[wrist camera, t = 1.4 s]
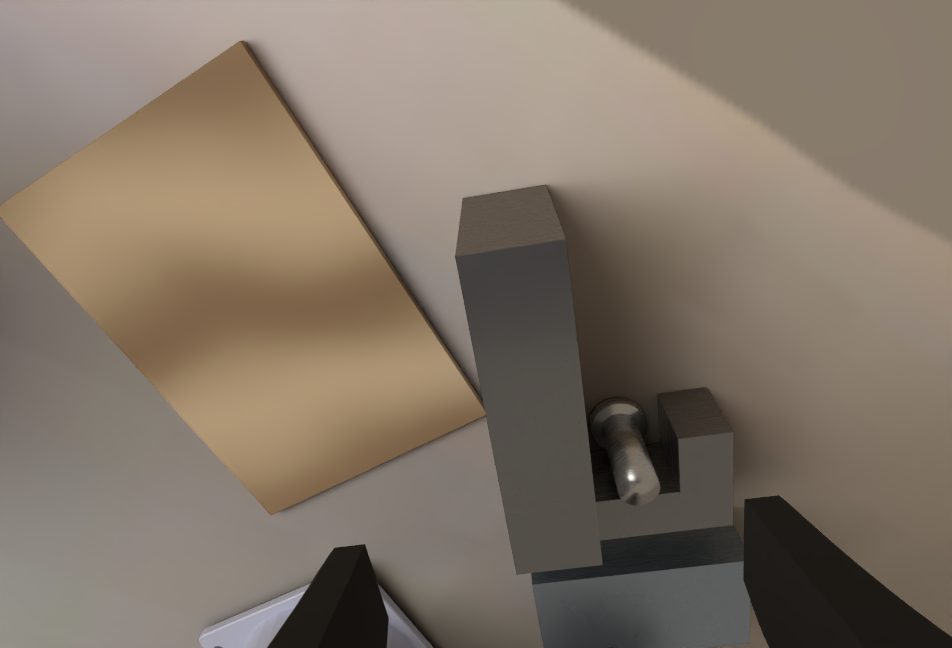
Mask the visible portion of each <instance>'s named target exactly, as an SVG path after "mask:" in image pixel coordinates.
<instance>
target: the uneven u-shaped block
mask: <svg viewBox="0 0 952 648" xmlns="http://www.w3.org/2000/svg"><path fill="white" fill-rule="evenodd" d="M455 258H456V263H457V268H458V273H459V279H460V284H461V289H462V294H463V299H464V305H465V310H466V315H467V320H468V325H469V330H470V336H471V341H472V346H473V351H474V356H475V362H476V367H477V372H478V377H479V382H480V387H481V393H482V398H483V403H484V408H485V413H486V419H487V424H488V429H489V434H490V439H491V444H492V450H493V455H494V460H495V465H496V470H497V476H498V481H499V486H500V491H501V496H502V501H503V507H504V512H505V517H506V522H507V527H508V532H509V538H510V543H511V548H512V553H513V558H514V564H515V569H516V574H517V575H518V574H526V573H535V572H544V571H553V570H562V569H571V568H580V567H589V566H598V565H603V563H602V554H601V545H600V540H608V539H617V538H626V537H634V536H643V535H652V534H660V533H669V532H678V531H686V530H695V529H703V528H712V527H721V526H729V525H733V453H734V432H733V430H732V428H731V427H730V425H729V424H728V422H727V420H726V419H725V417H724V415H723V414H722V412H721V410H720V409H719V407H718V405H717V404H716V402H715V400H714V399H713V397H712V395H711V394H710V392H709V390H708V389H707V388H699V389H692V390H684V391H677V392H669V393H662V394H658V412H659V430H660V443H658V444H650V445H645V446H646V449H647V451H648V454H649V457H650V459H651V462H652V465H653V467H654V470H655V473H656V475H657V478H658V481H659V483H660V491H659V494H658V496H657V497H656V498H655V499H654V500H653V501H651V502H649V503H647V504H644V505H630V504H627V503H626V502H624V501H623V500H622V499H621V498H620V496H619V494H618V490H617V487H616V483H615V479H614V476H613V472H612V469H611V465H610V462H609V458H608V455H607V451H606V450H603V451H595V452H590V447H589V439H588V430H587V421H586V412H585V403H584V394H583V385H582V376H581V368H580V359H579V350H578V341H577V332H576V323H575V314H574V305H573V297H572V288H571V279H570V270H569V261H568V252H567V243H566V238H565V235H564V232H563V230H562V227H561V224H560V221H559V219H558V216H557V213H556V211H555V208H554V205H553V202H552V200H551V197H550V194H549V192H548V189H547V186H546V185H541V186H534V187H528V188H522V189H516V190H510V191H504V192H498V193H492V194H486V195H480V196H473V197H467V198H463V201H462V208H461V216H460V224H459V231H458V239H457V247H456V254H455Z"/></svg>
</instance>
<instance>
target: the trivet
mask: <svg viewBox="0 0 952 648" xmlns="http://www.w3.org/2000/svg"><path fill="white" fill-rule="evenodd" d="M0 217H1V218H2V219H3V221H4V222H5V223H6V224H7V225H8V226H9V227H10V228H11V229H12V231H13V232H14V233H15V234H16V235H17V236H18V237H19V238H20V239H21V240H22V242H23V243H24V244H25V245H26V246H27V247H28V248H29V249H30V250H31V251H32V253H33V254H34V255H35V256H36V257H37V258H38V259H39V260H40V261H41V262H42V264H43V265H44V266H45V267H46V268H47V269H48V270H49V271H50V272H51V274H52V275H53V276H54V277H55V278H56V279H57V280H58V281H59V282H60V283H61V285H62V286H63V287H64V288H65V289H66V290H67V291H68V292H69V293H70V294H71V296H72V297H73V298H74V299H75V300H76V301H77V302H78V303H79V304H80V306H81V307H82V308H83V309H84V310H85V311H86V312H87V313H88V314H89V315H90V317H91V318H92V319H93V320H94V321H95V322H96V323H97V324H98V325H99V326H100V328H101V329H102V330H103V331H104V332H105V333H106V334H107V335H108V336H109V337H110V339H111V340H112V341H113V342H114V343H115V344H116V345H117V346H118V347H119V349H120V350H121V351H122V352H123V353H124V354H125V355H126V356H127V357H128V358H129V360H130V361H131V362H132V363H133V364H134V365H135V366H136V367H137V368H138V369H139V371H140V372H141V373H142V374H143V375H144V376H145V377H146V378H147V379H148V380H149V382H150V383H151V384H152V385H153V386H154V387H155V388H156V389H157V390H158V392H159V393H160V394H161V395H162V396H163V397H164V398H165V399H166V400H167V401H168V403H169V404H170V405H171V406H172V407H173V408H174V409H175V410H176V411H177V412H178V414H179V415H180V416H181V417H182V418H183V419H184V420H185V421H186V422H187V423H188V425H189V426H190V427H191V428H192V429H193V430H194V431H195V432H196V433H197V435H198V436H199V437H200V438H201V439H202V440H203V441H204V442H205V443H206V444H207V446H208V447H209V448H210V449H211V450H212V451H213V452H214V453H215V454H216V455H217V457H218V458H219V459H220V460H221V461H222V462H223V463H224V464H225V465H226V467H227V468H228V469H229V470H230V471H231V472H232V473H233V474H234V475H235V476H236V478H237V479H238V480H239V481H240V482H241V483H242V484H243V485H244V486H245V487H246V489H247V490H248V491H249V492H250V493H251V494H252V495H253V496H254V497H255V498H256V500H257V501H258V502H259V503H260V504H261V505H262V506H263V507H264V508H265V510H266V511H267V512H268V513H269V514H270V515H273V514H275V513H277V512H280V511H282V510H284V509H286V508H288V507H290V506H292V505H294V504H297V503H299V502H301V501H303V500H305V499H307V498H309V497H312V496H314V495H316V494H318V493H320V492H322V491H324V490H327V489H329V488H331V487H333V486H335V485H337V484H339V483H342V482H344V481H346V480H348V479H350V478H352V477H354V476H356V475H359V474H361V473H363V472H365V471H367V470H369V469H371V468H374V467H376V466H378V465H380V464H382V463H384V462H386V461H389V460H391V459H393V458H395V457H397V456H399V455H401V454H403V453H406V452H408V451H410V450H412V449H414V448H416V447H418V446H421V445H423V444H425V443H427V442H429V441H431V440H433V439H436V438H438V437H440V436H442V435H444V434H446V433H448V432H451V431H453V430H455V429H457V428H459V427H461V426H463V425H465V424H468V423H470V422H472V421H474V420H476V419H478V418H480V417H483V416H485V415H486V413H485V408H484V404H483V402H482V401H481V399H480V398H479V396H478V394H477V393H476V391H475V390H474V388H473V387H472V385H471V384H470V382H469V381H468V379H467V378H466V376H465V375H464V373H463V372H462V370H461V369H460V367H459V366H458V364H457V363H456V361H455V360H454V358H453V357H452V355H451V354H450V352H449V351H448V349H447V348H446V346H445V345H444V343H443V341H442V340H441V338H440V337H439V335H438V334H437V332H436V331H435V329H434V328H433V326H432V325H431V323H430V322H429V320H428V319H427V317H426V316H425V314H424V313H423V311H422V310H421V308H420V307H419V305H418V304H417V302H416V301H415V299H414V298H413V296H412V295H411V293H410V292H409V290H408V288H407V287H406V285H405V284H404V282H403V281H402V279H401V278H400V276H399V275H398V273H397V272H396V270H395V269H394V267H393V266H392V264H391V263H390V261H389V260H388V258H387V257H386V255H385V254H384V252H383V251H382V249H381V248H380V246H379V245H378V243H377V242H376V240H375V239H374V237H373V235H372V234H371V232H370V231H369V229H368V228H367V226H366V225H365V223H364V222H363V220H362V219H361V217H360V216H359V214H358V213H357V211H356V210H355V208H354V207H353V205H352V204H351V202H350V201H349V199H348V198H347V196H346V195H345V193H344V192H343V190H342V189H341V187H340V186H339V184H338V182H337V181H336V179H335V178H334V176H333V175H332V173H331V172H330V170H329V169H328V167H327V166H326V164H325V163H324V161H323V160H322V158H321V157H320V155H319V154H318V152H317V151H316V149H315V148H314V146H313V145H312V143H311V142H310V140H309V139H308V137H307V136H306V134H305V133H304V131H303V129H302V128H301V126H300V125H299V123H298V122H297V120H296V119H295V117H294V116H293V114H292V113H291V111H290V110H289V108H288V107H287V105H286V104H285V102H284V101H283V99H282V98H281V96H280V95H279V93H278V92H277V90H276V89H275V87H274V86H273V84H272V83H271V81H270V80H269V78H268V77H267V75H266V73H265V72H264V70H263V69H262V67H261V66H260V64H259V63H258V61H257V60H256V58H255V57H254V55H253V54H252V52H251V51H250V49H249V48H248V46H247V45H246V43H245V42H244V41H239V42H238V43H236V44H235V45H233V46H232V47H230V48H229V49H227V50H226V51H224V52H223V53H222V54H220V55H219V56H217V57H216V58H214V59H213V60H211V61H210V62H208V63H207V64H206V65H204V66H203V67H201V68H200V69H198V70H197V71H195V72H194V73H192V74H191V75H190V76H188V77H187V78H185V79H184V80H182V81H181V82H179V83H178V84H176V85H175V86H174V87H172V88H171V89H169V90H168V91H166V92H165V93H163V94H162V95H160V96H159V97H158V98H156V99H155V100H153V101H152V102H150V103H149V104H147V105H146V106H144V107H143V108H142V109H140V110H139V111H137V112H136V113H134V114H133V115H131V116H130V117H128V118H127V119H126V120H124V121H123V122H121V123H120V124H118V125H117V126H115V127H114V128H112V129H111V130H110V131H108V132H107V133H105V134H104V135H102V136H101V137H99V138H98V139H96V140H95V141H94V142H92V143H91V144H89V145H88V146H86V147H85V148H83V149H82V150H80V151H79V152H78V153H76V154H75V155H73V156H72V157H70V158H69V159H67V160H66V161H64V162H63V163H62V164H60V165H59V166H57V167H56V168H54V169H53V170H51V171H50V172H48V173H47V174H46V175H44V176H43V177H41V178H40V179H38V180H37V181H35V182H34V183H32V184H31V185H30V186H28V187H27V188H25V189H24V190H22V191H21V192H19V193H18V194H16V195H15V196H14V197H12V198H11V199H9V200H8V201H6V202H5V203H3V204H2V205H0Z"/></svg>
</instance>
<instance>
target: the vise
mask: <svg viewBox="0 0 952 648" xmlns="http://www.w3.org/2000/svg"><path fill="white" fill-rule="evenodd" d="M590 427H591V431H592V435H593V438H594V440H595V441H596V442H597V443H598V444H599V445H600V446H601V447H603V448H605V449H606V451H607V455H608V458H609V462H610V465H611V469H612V472H613V476H614V479H615V483H616V487H617V490H618V494H619V496H620V498H621V499H622V500H623V501H624V502H626V503H627V504H630V505H644V504H647V503H649V502H651V501H653V500H654V499H655V498H656V497H657V496H658V494H659V491H660V483H659V481H658V478H657V475H656V473H655V470H654V467H653V465H652V462H651V459H650V457H649V454H648V451H647V449H646V446H645V443H644V441H643V437H644V435H645V433H646V429H647V423H646V420H645V417H644V415H643V412H642V410H641V408H640V407H639V405H638V404H637V403H635V402H634V401H632V400H630V399H627V398H620V397H617V398H611V399H607V400H605V401H603V402H601V403H600V404H599V405H597V406H596V407H595V409H594V410H593V412H592V414H591V416H590ZM600 545H601V554H602V563H603V565H598V566H589V567H580V568H571V569H562V570H553V571H544V572H535V573H531V575H532V586H533V591H534V597H535V602H536V608H537V613H538V619H539V625H540V630H541V636H542V641H543V647H544V648H708V647H718V646H728V645H738V644H748V643H749V638H750V597H749V594H748V592H747V589H746V586H745V583H744V580H743V566H744V545H743V543H742V541H741V539H740V537H739V534H738V532H737V530H736V528H735V526H734V524H733V525H729V526H721V527H712V528H703V529H695V530H686V531H678V532H669V533H660V534H652V535H643V536H634V537H626V538H617V539H608V540H600Z"/></svg>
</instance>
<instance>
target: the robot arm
mask: <svg viewBox="0 0 952 648" xmlns="http://www.w3.org/2000/svg"><path fill="white" fill-rule="evenodd" d="M743 580H744V583H745V586H746V589H747V592H748V594H749V597H750V600H751V603H752V606H753V609H754V611H755V614H756V617H757V619H758V622H759V625H760V627H761V630H762V632H763V635H764V637H765V639H766V641H767V643H768V645H769V648H952V637H951V636H950V635H948V634H947V633H945V632H944V631H943V630H941V629H940V628H938V627H937V626H936V625H934V624H933V623H932V622H930V621H929V620H928V619H926V618H925V617H924V616H922V615H921V614H920V613H918V612H917V611H916V610H914V609H913V608H912V607H910V606H909V605H908V604H907V603H905V602H904V601H903V600H901V599H900V598H899V597H898V596H896V595H895V594H894V593H892V592H891V591H890V590H889V589H887V588H886V587H885V586H884V585H883V584H881V583H880V582H879V581H878V580H876V579H875V578H874V577H873V576H872V575H870V574H869V573H868V572H867V571H865V570H864V569H863V568H862V567H861V566H859V565H858V564H857V563H856V562H854V561H853V560H852V559H851V558H850V557H849V556H847V555H846V554H845V553H844V552H843V551H842V550H840V549H839V548H838V547H837V546H836V545H835V544H834V543H832V542H831V541H830V540H829V539H828V538H827V537H825V536H824V535H823V534H822V533H821V532H820V531H819V530H818V529H816V528H815V527H814V526H813V525H812V524H811V523H810V522H809V521H807V520H806V519H805V518H804V517H803V516H802V515H801V514H800V513H799V512H797V511H796V510H795V509H794V508H793V507H792V506H791V505H790V504H789V503H787V502H786V501H785V500H784V499H783V498H781V497H780V496H779V495H778V496H770V497H761V498H753V499H745V506H744V566H743ZM199 643H200V644H201V646H202V647H203V648H433V647H432V645H431V644H430V643H429V642H428V641H427V640H426V639H425V637H424V636H423V635H422V634H421V633H420V632H419V630H418V629H417V628H416V627H415V626H414V625H413V624H412V622H411V621H410V620H409V619H408V618H407V617H406V615H405V614H404V613H403V612H402V611H401V610H400V608H399V607H398V606H397V605H396V604H395V603H394V602H393V600H392V599H391V598H390V597H389V596H388V595H387V593H386V592H385V591H384V590H383V589H382V588H381V587H380V585H379V584H378V583H377V580H376V577H375V574H374V571H373V568H372V565H371V562H370V559H369V555H368V552H367V549H366V546H365V544H363V545H355V546H346V547H338V548H334V549H333V551H332V552H331V553H330V555H329V556H328V558H327V559H326V561H325V562H324V564H323V565H322V567H321V568H320V570H319V571H318V573H317V574H316V576H315V578H314V579H313V581H312V582H311V583H310V584H308V585H305V586H303V587H301V588H299V589H296V590H294V591H292V592H289V593H287V594H285V595H282V596H280V597H278V598H275V599H273V600H271V601H268V602H266V603H264V604H261V605H259V606H257V607H254V608H252V609H250V610H247V611H245V612H243V613H240V614H238V615H236V616H233V617H231V618H229V619H226V620H224V621H222V622H220V623H217V624H215V625H213V626H210V627H208V628H206V629H204V630H203V632H202V634H201V636H200V639H199Z"/></svg>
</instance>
